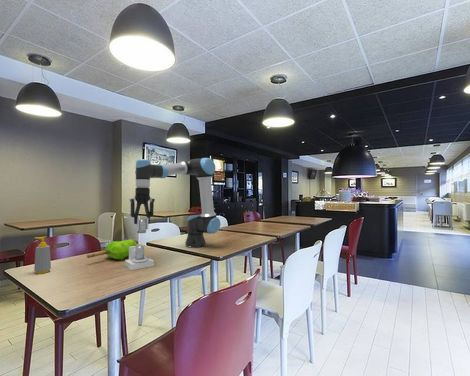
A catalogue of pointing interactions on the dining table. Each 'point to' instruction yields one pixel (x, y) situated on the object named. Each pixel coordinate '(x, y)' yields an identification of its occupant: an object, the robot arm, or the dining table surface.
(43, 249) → the soap bottle
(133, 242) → the decorative tree
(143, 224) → the spacer
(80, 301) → the dining table surface
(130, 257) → the light grey square stand
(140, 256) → the spacer
